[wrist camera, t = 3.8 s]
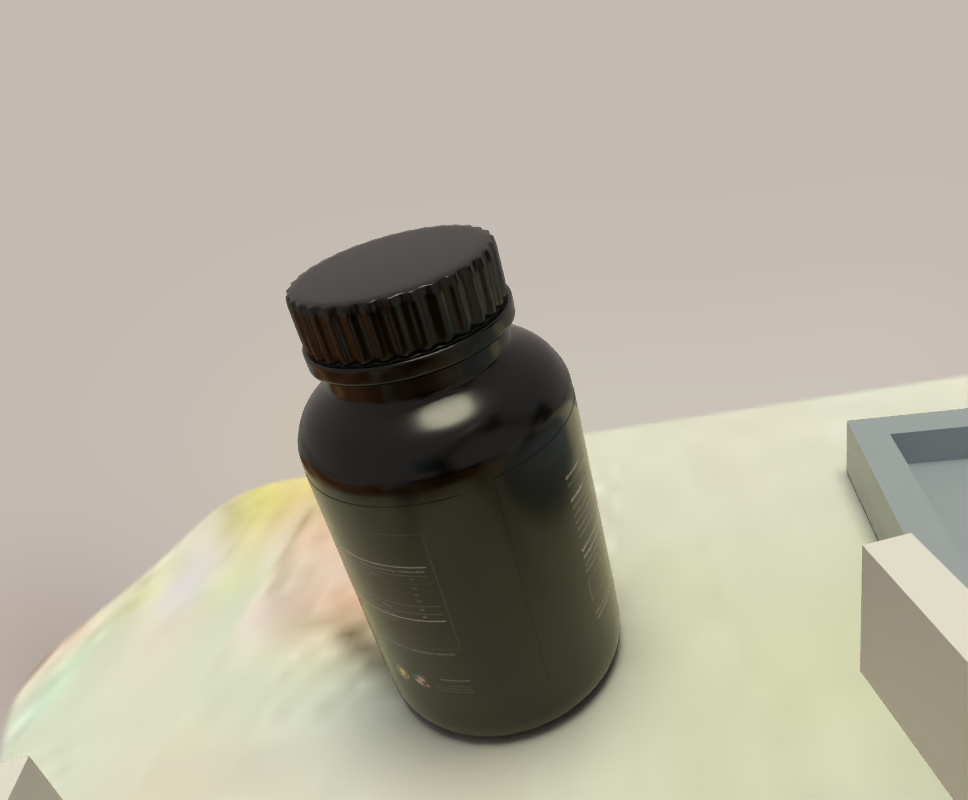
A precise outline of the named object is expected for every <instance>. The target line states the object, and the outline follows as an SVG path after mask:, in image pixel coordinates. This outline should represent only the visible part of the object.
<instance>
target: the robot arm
mask: <svg viewBox="0 0 968 800" xmlns="http://www.w3.org/2000/svg"><path fill="white" fill-rule="evenodd" d="M860 671H861V672H862V674H863V675H864V677H865V678H866V679H867V681H868V682H869V683H870V685H871V686H872V688H873V689H874V690H875V692H876V693H877V695H878V696H879V697H880V699H881V700H882V701H883V703H884V704H885V706H886V707H887V708H888V710H889V711H890V712H891V714H892V715H893V717H894V718H895V719H896V721H897V722H898V724H899V725H900V726H901V728H902V729H903V730H904V732H905V733H906V735H907V736H908V737H909V739H910V740H911V741H912V743H913V744H914V746H915V747H916V748H917V750H918V751H919V753H920V754H921V755H922V757H923V758H924V759H925V761H926V762H927V764H928V765H929V766H930V768H931V769H932V771H933V772H934V773H935V775H936V776H937V777H938V779H939V780H940V782H941V783H942V784H943V786H944V787H945V788H946V790H947V791H948V793H949V794H950V795H951V797H952V798H953V800H968V589H967V588H966V587H965V586H964V585H963V584H962V583H961V582H960V581H959V580H958V579H957V578H956V577H955V576H954V575H953V574H952V573H951V572H950V571H949V570H948V569H947V568H946V567H945V566H944V565H943V564H942V563H941V562H940V561H939V560H938V559H937V558H936V557H935V556H934V555H933V554H932V553H931V552H930V551H929V550H928V549H927V548H926V547H925V546H924V545H923V544H922V543H921V542H920V541H919V540H918V539H917V538H916V537H915V536H914V535H913V534H912V533H908V534H905V535H901V536H897V537H893V538H889V539H885V540H881V541H877V542H873V543H869V544H865V545H862V597H861V653H860ZM0 800H62V798H61V797H60V796H59V794H58V793H57V792H56V790H55V789H54V788H53V787H52V785H51V784H50V783H49V781H48V780H47V779H46V777H45V776H44V775H43V773H42V772H41V771H40V770H39V768H38V767H37V766H36V764H35V763H34V762H33V760H32V759H31V758H30V757H29V756H26V757H22V758H18V759H14V760H10V761H6V762H2V763H0Z"/></svg>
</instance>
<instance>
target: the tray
mask: <svg viewBox="0 0 968 800" xmlns="http://www.w3.org/2000/svg"><path fill="white" fill-rule="evenodd" d="M847 473H848V475H849V477H850V479H851V482H852V484H853V486H854V488H855V490H856V493H857V495H858V497H859V499H860V501H861V504H862V506H863V508H864V510H865V512H866V515H867V517H868V519H869V521H870V523H871V525H872V528H873V530H874V532H875V534H876V536H877V539H878V541H881V540H885V539H889V538H893V537H897V536H901V535H905V534H908V533H912V534H913V535H914V536H915V537H916V538H917V539H918V540H919V541H920V542H921V543H922V544H923V545H924V546H925V547H926V548H927V549H928V550H929V551H930V552H931V553H932V554H933V555H934V556H935V557H936V558H937V559H938V560H939V561H940V562H941V563H942V564H943V565H944V566H945V567H946V568H947V569H948V570H949V571H950V572H951V573H952V574H953V575H954V576H955V577H956V578H957V579H958V580H959V581H960V582H961V583H962V584H963V585H964V586H965V587H966V588H967V589H968V408H967V409H957V410H948V411H938V412H928V413H919V414H909V415H899V416H890V417H880V418H870V419H860V420H851V421H847Z"/></svg>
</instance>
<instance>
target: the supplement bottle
mask: <svg viewBox="0 0 968 800" xmlns="http://www.w3.org/2000/svg"><path fill="white" fill-rule="evenodd" d="M286 292H287V296H286V301H287V306H288V309H289V311H290V314H291V317H292V319H293V322H294V324H295V327H296V330H297V332H298V335H299V337H300V340H301V342H302V344H303V347H302V348H303V349H302V352H303V355H304V358H305V361H306V363H307V366H308V368H309V370H310V372H311V374H312V375H313V376H314V377H315V378H317V379H318V380H320V381H321V383H320V384H319V385H318V386H317V388H316V389H315V390H314V392H313V393H312V395H311V396H310V398H309V400H308V402H307V404H306V406H305V408H304V411H303V414H302V417H301V420H300V425H299V432H298V451H299V455H300V458H301V462H302V465H303V467H304V470H305V473H306V476H307V478H308V481H309V483H310V486H311V488H312V490H313V493H314V495H315V498H316V500H317V502H318V505H319V507H320V509H321V512H322V514H323V516H324V519H325V521H326V524H327V526H328V528H329V531H330V533H331V535H332V538H333V540H334V543H335V545H336V547H337V550H338V552H339V554H340V557H341V559H342V561H343V564H344V566H345V569H346V571H347V573H348V576H349V578H350V580H351V583H352V585H353V587H354V590H355V592H356V595H357V597H358V599H359V602H360V604H361V606H362V609H363V611H364V614H365V616H366V618H367V621H368V623H369V625H370V628H371V630H372V632H373V635H374V637H375V640H376V642H377V644H378V647H379V649H380V651H381V654H382V656H383V658H384V661H385V663H386V665H387V667H388V669H389V672H390V674H391V676H392V678H393V680H394V682H395V684H396V686H397V688H398V690H399V692H400V694H401V695H402V697H403V698H404V699H405V701H406V702H407V703H408V704H409V705H410V707H411V708H412V709H413V710H415V711H416V712H417V713H418V714H419V715H420V716H422V717H423V718H425V719H426V720H428V721H429V722H431V723H433V724H435V725H437V726H439V727H441V728H444V729H447V730H449V731H452V732H456V733H460V734H465V735H471V736H486V737H488V736H504V735H511V734H516V733H521V732H525V731H528V730H531V729H535V728H537V727H540V726H542V725H545V724H547V723H549V722H551V721H553V720H555V719H557V718H559V717H560V716H562V715H564V714H565V713H567V712H568V711H570V710H571V709H572V708H574V707H575V706H577V705H578V704H579V703H580V702H581V701H582V700H583V699H585V698H586V697H587V696H588V695H589V694H590V693H591V692H592V691H593V689H594V688H595V687H596V686H597V685H598V683H599V682H600V681H601V679H602V678H603V676H604V675H605V673H606V671H607V670H608V668H609V666H610V664H611V662H612V660H613V657H614V655H615V652H616V648H617V644H618V640H619V632H620V618H619V609H618V603H617V598H616V592H615V587H614V581H613V576H612V571H611V566H610V562H609V557H608V552H607V547H606V542H605V537H604V532H603V528H602V523H601V518H600V513H599V508H598V503H597V499H596V494H595V489H594V484H593V479H592V474H591V469H590V465H589V460H588V455H587V450H586V445H585V440H584V436H583V431H582V426H581V421H580V416H579V411H578V407H577V402H576V397H575V392H574V388H573V385H572V381H571V378H570V374H569V371H568V369H567V367H566V365H565V363H564V361H563V360H562V358H561V357H560V356H559V354H558V353H557V352H556V351H555V350H554V349H553V348H552V347H551V346H550V345H549V344H548V343H547V342H546V341H544V340H543V339H542V338H540V337H539V336H538V335H536V334H534V333H532V332H531V331H529V330H526V329H524V328H521V327H519V326H516V325H513V324H511V323H512V321H513V319H514V316H515V307H514V302H513V297H512V293H511V290H510V288H509V287H508V286H507V285H506V283H505V278H504V274H503V270H502V265H501V261H500V257H499V253H498V249H497V245H496V242H495V239H494V237H493V235H490V233H489V231H488V230H483V229H482V228H481V227H472V226H470V225H447V226H446V225H441V226H435V227H424V228H420V229H416V230H409V231H405V232H401V233H397V234H392V235H388V236H385V237H382V238H378V239H374V240H371V241H369V242H366V243H364V244H360V245H357V246H354V247H352V248H349V249H348V250H345V251H342V252H339V253H337V254H336V255H333V256H332V257H329V258H327V259H325V260H323V261H321V262H320V263H318V264H317V265H315V266H312V267H311V268H310V269H308V270H307V271H306V272H304V273H302V274H301V275H299V277H298V278H297V279H296V280H295V281H293V282H292V283H291V287H290V288H288V289H287V290H286Z"/></svg>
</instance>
